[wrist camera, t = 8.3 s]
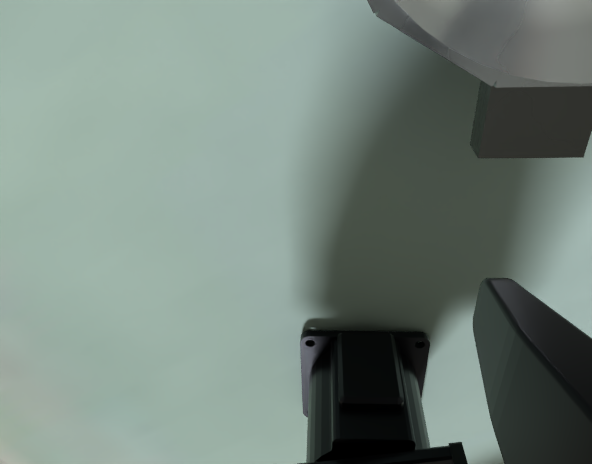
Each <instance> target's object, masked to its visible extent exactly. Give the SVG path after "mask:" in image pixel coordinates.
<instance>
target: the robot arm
mask: <svg viewBox="0 0 592 464" xmlns="http://www.w3.org/2000/svg"><path fill="white" fill-rule="evenodd" d="M473 332H474V337H475V342H476V347H477V353H478V358H479V363H480V368H481V373H482V378H483V383H484V388H485V393H486V399H487V404H488V408H489V413H490V418H491V421H492V425H493V428H494V432H495V435H496V438H497V441H498V444H499V448H500V451H501V454H502V457H503V460H504V463H505V464H592V338H591V337H589V336H588V335H586V334H585V333H584V332H582V331H581V330H580V329H578V328H577V327H576V326H574V325H573V324H572V323H570V322H569V321H568V320H566V319H565V318H563V317H562V316H561V315H559V314H558V313H557V312H555V311H554V310H553V309H551V308H550V307H549V306H547V305H546V304H545V303H543V302H542V301H540V300H539V299H538V298H536V297H535V296H534V295H532V294H531V293H530V292H528V291H527V290H526V289H524V288H523V287H522V286H520V285H519V284H517V283H516V282H515V281H513V280H511V279H508V278H486V279H484V280H483V281H482V283H481V285H480V288H479V293H478V297H477V302H476V307H475V311H474V316H473ZM308 340H313V341H308ZM418 341H422V342H419V343H417V342H418ZM300 346H301V373H302V399H303V414H304V415H305V416H306V417H308V430H307V460H306V463H299V464H468V463H467V460H466V456H465V453H464V449H463V446H462V442H456V443H449V446H442V447H434V448H430V443H429V438H428V433H427V428H426V422H425V417H424V412H423V407H422V402H421V396H422V390H423V384H424V378H425V372H426V366H427V359H428V353H429V347H430V342H429V338H428V336H427V334H425V333H423V332H385V331H306V332H304V333H303V334H302V335H301V341H300Z"/></svg>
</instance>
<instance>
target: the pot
mask: <svg viewBox="0 0 592 464" xmlns="http://www.w3.org/2000/svg"><path fill="white" fill-rule="evenodd" d="M367 1H368V3H369V5H370V7H371V9H372V11H373V13H375V14H376V16H377V17H379V18H380V19H382V20H383V21H385V22H387V23H388V24H390V25H392V26H393V27H395V28H397V29H398V30H400V31H401V32H403V33H405V34H406V35H408V36H410V37H411V38H413V39H415V40H416V41H418V42H420V43H421V44H423V45H424V46H426V47H428V48H429V49H431V50H433V51H434V52H436V53H438V54H439V55H441V56H442V57H444V58H446V59H447V60H449V61H451V62H452V63H454V64H456V65H457V66H459V67H461V68H462V69H464V70H465V71H467V72H469V73H470V74H472V75H474V76H475V77H477V78H479V79H480V80H481V82H480V88H479V94H478V100H477V106H476V112H475V118H474V123H473V129H472V135H471V141H470V146H471V147H472V149H473V151H474V152H475V154H476V155H477V157H478V158H565V157H584V153H585V150H586V147H587V144H588V140H589V137H590V134H591V131H592V83H587V84H577V83H556V82H544V81H539V80H533V79H528V78H523V77H517V76H512V75H509V74H507V73H504V72H501V71H498V70H495V69H492V68H489V67H486V66H483V65H480V64H478V63H476V62H475V61H473V60H471V59H469V58H467V57H465V56H463V55H461V54H459V53H457V52H455V51H453V50H451V49H450V48H448V47H447V46H446V45H444V44H443V43H441V42H440V41H439V40H437V39H436V38H435V37H433V36H432V35H430V34H429V33H428V32H426V31H425V30H424V29H422V28H421V27H420V26H419V25H418V24H417V23H416V22H415V21H414V20H413V19H412V18H411V17H410V16H409V15H408V14H407V13H406V12H405V11H404V10H403V9H402V8H401V7H400V6H399V5H398V4H397V3H396V2H395V1H394V0H367Z"/></svg>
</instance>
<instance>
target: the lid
mask: <svg viewBox="0 0 592 464" xmlns="http://www.w3.org/2000/svg"><path fill="white" fill-rule="evenodd" d="M394 1H395V2H396V3H397V4H398V5H399V6H400V7H401V8H402V9H403V10H404V11H405V12H406V13H407V14H408V15H409V16H410V17H411V18H412V19H413V20H414V21H415V22H416V23H417V24H418V25H419V26H420V27H421V28H422V29H424V30H425V31H426V32H428V33H429V34H430V35H432V36H433V37H435V38H436V39H437V40H439V41H440V42H441V43H443V44H444V45H446V46H447V47H448V48H450V49H451V50H453V51H455V52H457V53H459V54H461V55H463V56H465V57H467V58H469V59H471V60H473V61H475V62H476V63H478V64H480V65H483V66H486V67H489V68H492V69H495V70H498V71H501V72H504V73H507V74H509V75H512V76H517V77H523V78H528V79H533V80H539V81H544V82H556V83H577V84H587V83H592V0H394Z"/></svg>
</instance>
